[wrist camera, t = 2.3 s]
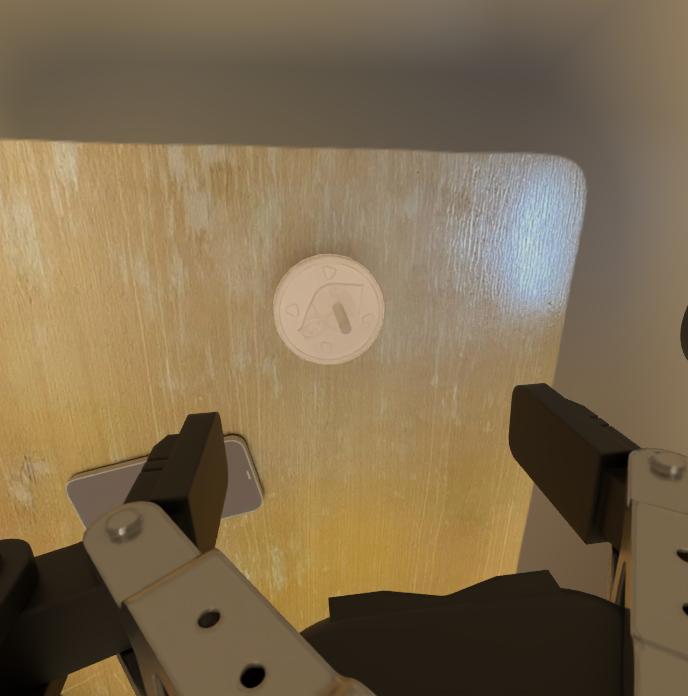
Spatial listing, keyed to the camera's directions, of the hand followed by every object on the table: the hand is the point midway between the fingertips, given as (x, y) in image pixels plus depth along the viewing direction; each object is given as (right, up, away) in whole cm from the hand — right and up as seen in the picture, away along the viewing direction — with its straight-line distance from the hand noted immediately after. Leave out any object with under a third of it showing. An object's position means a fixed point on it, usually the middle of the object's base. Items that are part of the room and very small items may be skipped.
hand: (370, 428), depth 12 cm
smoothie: (-3, +7, +22) cm, 24 cm away
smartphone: (-16, -10, +27) cm, 32 cm away
